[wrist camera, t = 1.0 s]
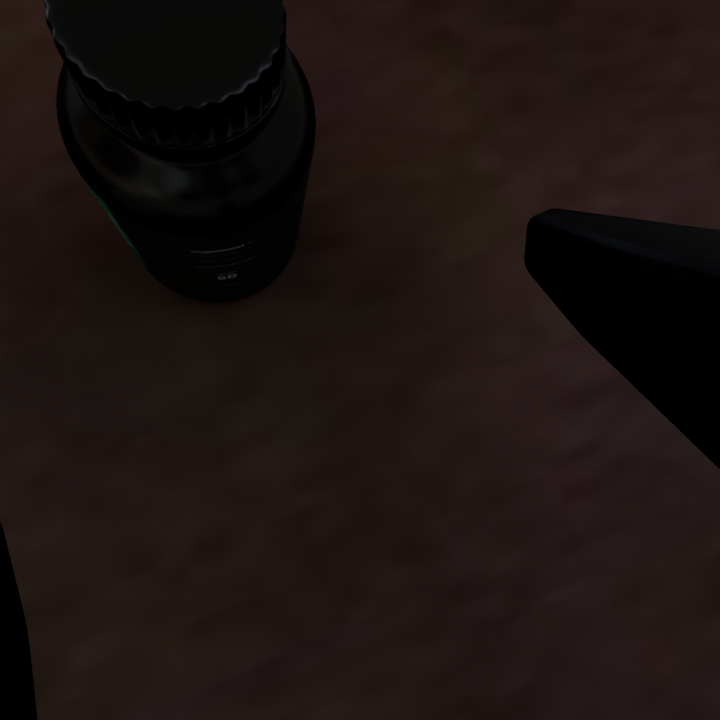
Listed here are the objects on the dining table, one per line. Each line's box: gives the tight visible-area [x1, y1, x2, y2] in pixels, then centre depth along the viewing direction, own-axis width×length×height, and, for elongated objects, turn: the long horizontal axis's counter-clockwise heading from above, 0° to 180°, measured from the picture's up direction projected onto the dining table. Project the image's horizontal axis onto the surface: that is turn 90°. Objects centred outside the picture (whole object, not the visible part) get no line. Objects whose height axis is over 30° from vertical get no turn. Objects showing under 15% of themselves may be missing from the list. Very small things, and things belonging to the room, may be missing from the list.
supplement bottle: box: [43, 0, 316, 302], centre depth 16 cm, size 7×7×12 cm
